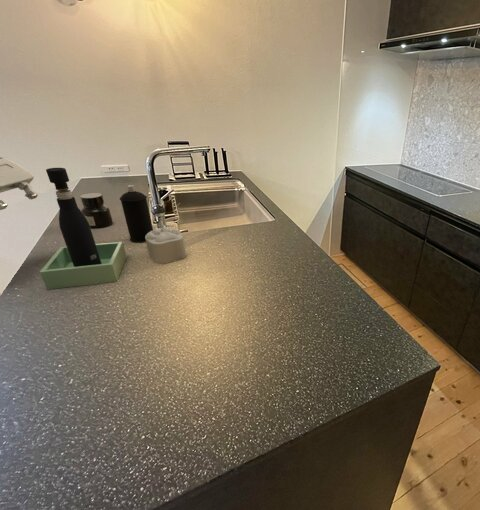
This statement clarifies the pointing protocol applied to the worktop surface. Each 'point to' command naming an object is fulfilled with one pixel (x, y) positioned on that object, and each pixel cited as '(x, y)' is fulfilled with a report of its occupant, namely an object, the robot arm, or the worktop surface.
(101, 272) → the green square tray
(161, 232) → the lumpy-topped squat cylinder
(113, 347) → the worktop surface
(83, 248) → the black water bottle
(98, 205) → the ink bottle
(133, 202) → the aerosol can
